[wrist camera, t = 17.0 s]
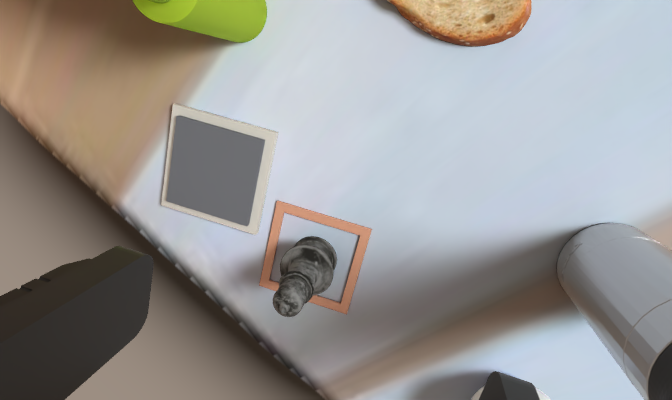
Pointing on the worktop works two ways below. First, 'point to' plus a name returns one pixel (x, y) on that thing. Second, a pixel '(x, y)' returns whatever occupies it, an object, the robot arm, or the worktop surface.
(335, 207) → the worktop surface
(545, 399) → the lidded jar
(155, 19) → the soap dispenser
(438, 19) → the slice of bread
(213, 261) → the worktop surface
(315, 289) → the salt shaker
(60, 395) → the robot arm
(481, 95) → the worktop surface
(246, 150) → the ink pad
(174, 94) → the worktop surface
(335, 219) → the marked box
